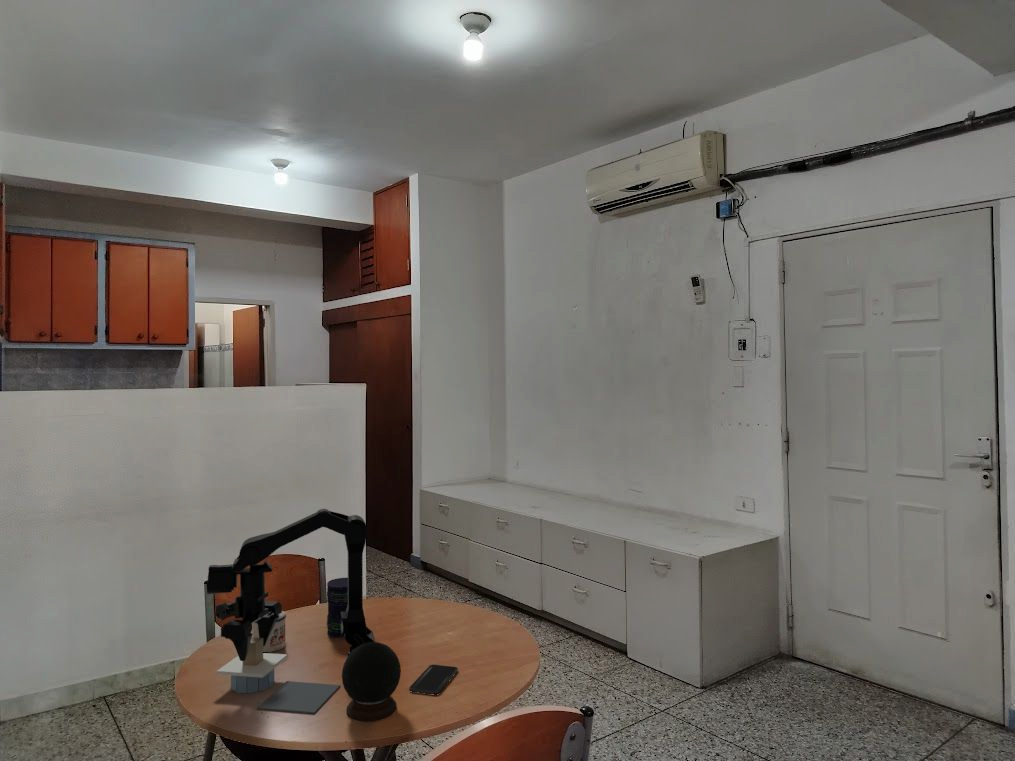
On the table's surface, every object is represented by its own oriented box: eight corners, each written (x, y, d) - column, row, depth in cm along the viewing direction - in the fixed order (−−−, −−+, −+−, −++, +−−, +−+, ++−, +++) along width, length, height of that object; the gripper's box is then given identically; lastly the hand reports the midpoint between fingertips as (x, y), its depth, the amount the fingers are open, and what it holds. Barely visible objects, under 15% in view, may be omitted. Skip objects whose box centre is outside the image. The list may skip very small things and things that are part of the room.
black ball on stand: (372, 691, 165) (372, 629, 165) (413, 706, 157) (412, 641, 157) (329, 713, 154) (329, 646, 154) (370, 730, 146) (370, 660, 146)
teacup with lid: (274, 655, 187) (274, 612, 187) (245, 652, 189) (245, 610, 189) (297, 639, 199) (297, 598, 199) (270, 636, 201) (270, 596, 201)
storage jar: (349, 639, 198) (349, 588, 198) (320, 636, 201) (320, 585, 201) (366, 628, 207) (366, 578, 207) (338, 624, 210) (338, 576, 210)
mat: (340, 686, 167) (340, 685, 167) (314, 714, 153) (314, 712, 153) (286, 682, 170) (286, 681, 170) (256, 709, 156) (256, 707, 156)
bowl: (281, 676, 173) (281, 659, 173) (260, 694, 163) (260, 675, 163) (245, 674, 175) (245, 656, 175) (222, 691, 165) (222, 672, 165)
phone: (407, 689, 164) (431, 664, 179) (407, 693, 164) (431, 668, 179) (438, 692, 162) (459, 667, 177) (438, 697, 162) (459, 671, 177)
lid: (287, 657, 174) (287, 632, 174) (262, 677, 162) (262, 651, 162) (244, 654, 176) (244, 630, 176) (216, 674, 164) (216, 648, 164)
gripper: (243, 578, 180) (243, 637, 180) (199, 600, 161) (200, 666, 161) (282, 580, 178) (283, 639, 178) (243, 602, 159) (243, 669, 159)
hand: (252, 653), depth 169 cm, fingers open, 9 cm apart
